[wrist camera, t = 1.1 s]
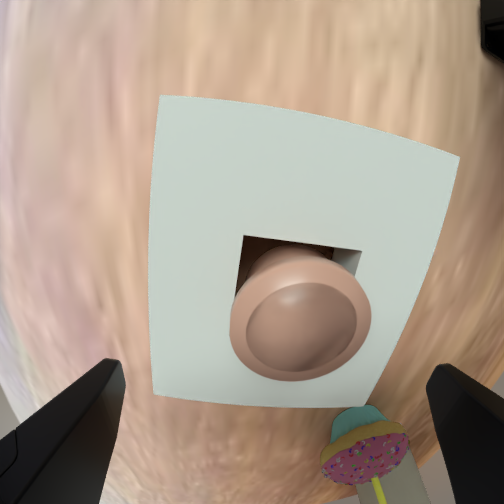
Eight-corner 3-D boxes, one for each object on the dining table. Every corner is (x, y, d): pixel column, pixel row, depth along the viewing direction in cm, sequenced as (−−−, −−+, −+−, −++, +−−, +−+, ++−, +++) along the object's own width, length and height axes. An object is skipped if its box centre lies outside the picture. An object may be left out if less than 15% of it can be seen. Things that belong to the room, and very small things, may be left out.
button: (360, 240, 16) (390, 275, 13) (330, 336, 19) (346, 382, 15) (239, 223, 16) (239, 257, 12) (225, 328, 18) (222, 376, 15)
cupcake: (402, 416, 28) (438, 506, 17) (332, 450, 30) (353, 541, 19) (379, 377, 25) (426, 491, 14) (296, 419, 27) (315, 533, 16)
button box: (423, 147, 17) (459, 157, 14) (350, 370, 24) (363, 406, 21) (177, 99, 16) (160, 94, 12) (163, 356, 23) (153, 394, 19)
